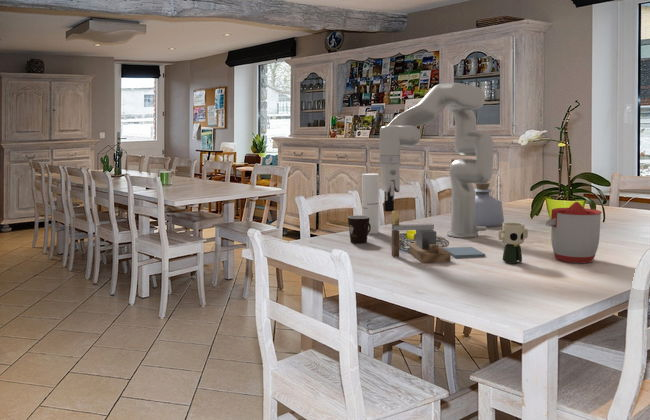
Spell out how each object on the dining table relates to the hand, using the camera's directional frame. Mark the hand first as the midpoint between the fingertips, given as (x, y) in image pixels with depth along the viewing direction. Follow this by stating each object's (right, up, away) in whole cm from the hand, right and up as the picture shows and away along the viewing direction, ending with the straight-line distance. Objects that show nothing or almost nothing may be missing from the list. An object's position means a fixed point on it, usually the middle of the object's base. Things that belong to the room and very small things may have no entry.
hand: (388, 211), depth 223 cm
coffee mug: (-10, -13, +18) cm, 24 cm away
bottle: (+49, -6, +61) cm, 78 cm away
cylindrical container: (-4, -9, +41) cm, 42 cm away
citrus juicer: (+60, -17, -15) cm, 64 cm away
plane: (+9, -16, -6) cm, 19 cm away
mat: (+26, -15, -3) cm, 31 cm away
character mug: (+39, -17, -17) cm, 46 cm away
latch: (+8, -6, -7) cm, 12 cm away
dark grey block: (+13, -13, -5) cm, 19 cm away
